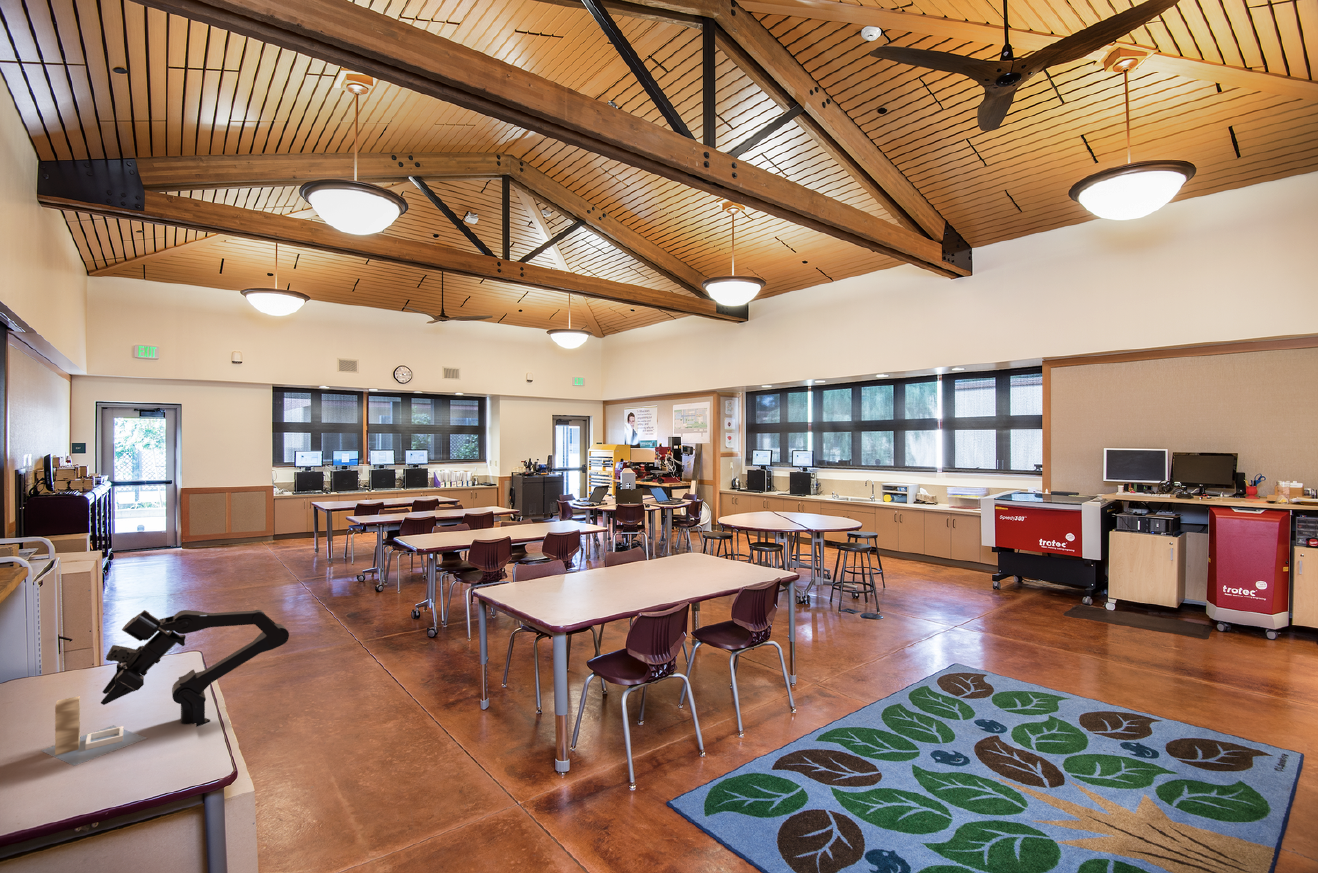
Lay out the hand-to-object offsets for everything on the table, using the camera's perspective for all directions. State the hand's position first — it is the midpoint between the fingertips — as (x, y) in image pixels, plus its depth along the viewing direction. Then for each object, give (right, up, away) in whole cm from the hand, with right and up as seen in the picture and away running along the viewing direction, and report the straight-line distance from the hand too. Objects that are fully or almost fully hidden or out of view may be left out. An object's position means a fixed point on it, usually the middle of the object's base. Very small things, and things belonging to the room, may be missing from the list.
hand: (103, 698), depth 171 cm
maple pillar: (-5, -12, -4) cm, 14 cm away
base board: (0, -13, -2) cm, 13 cm away
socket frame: (0, -12, 0) cm, 12 cm away
